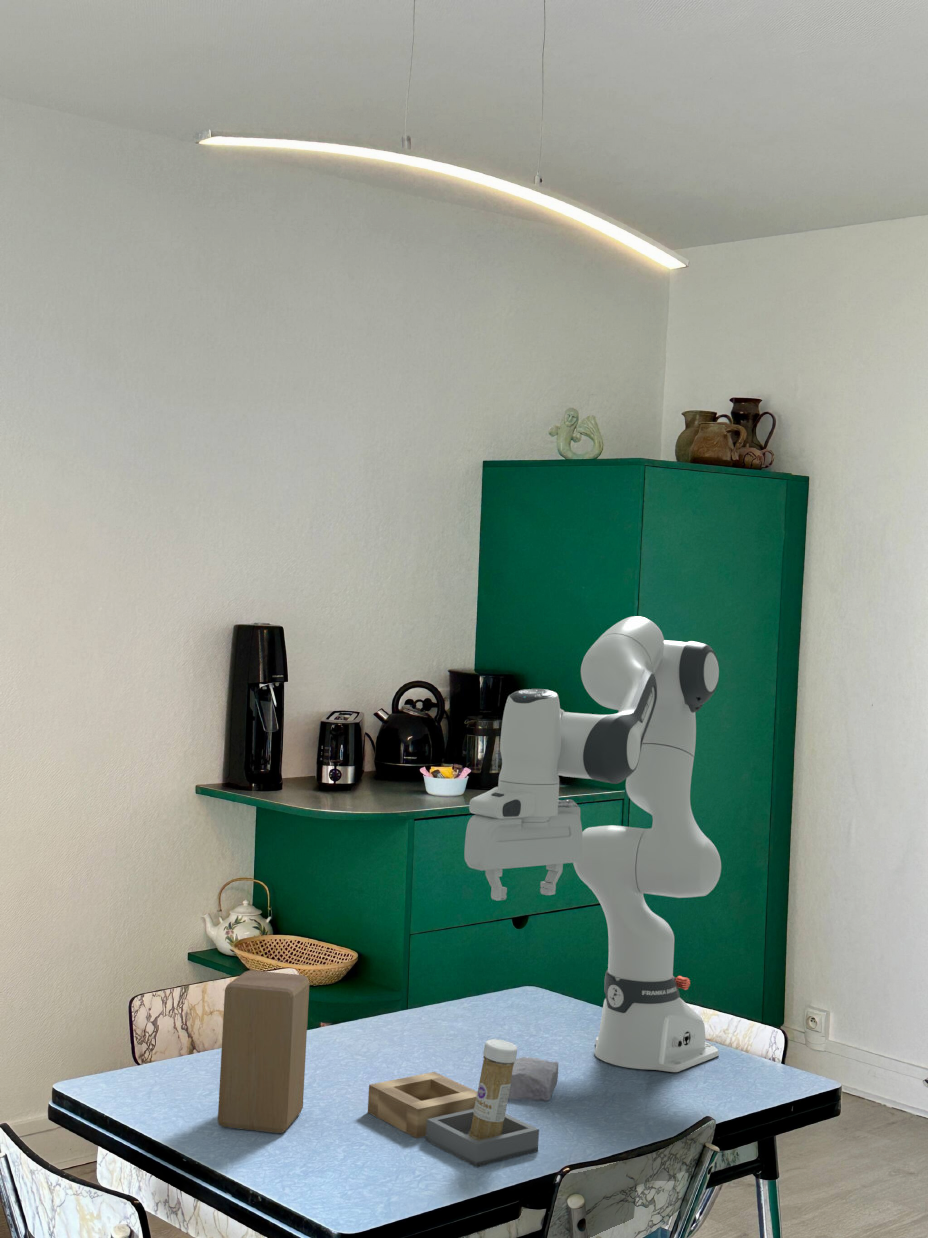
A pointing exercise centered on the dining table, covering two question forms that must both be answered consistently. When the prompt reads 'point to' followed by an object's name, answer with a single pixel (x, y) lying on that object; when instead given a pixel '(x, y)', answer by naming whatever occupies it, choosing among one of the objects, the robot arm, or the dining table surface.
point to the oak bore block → (418, 1101)
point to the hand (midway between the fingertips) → (523, 897)
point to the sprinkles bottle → (493, 1089)
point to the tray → (456, 1140)
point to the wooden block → (263, 1051)
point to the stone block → (533, 1079)
